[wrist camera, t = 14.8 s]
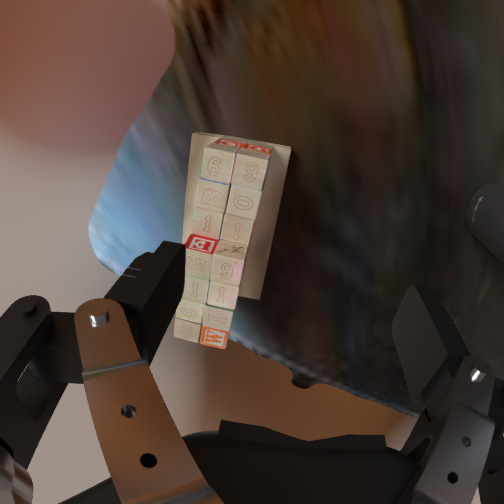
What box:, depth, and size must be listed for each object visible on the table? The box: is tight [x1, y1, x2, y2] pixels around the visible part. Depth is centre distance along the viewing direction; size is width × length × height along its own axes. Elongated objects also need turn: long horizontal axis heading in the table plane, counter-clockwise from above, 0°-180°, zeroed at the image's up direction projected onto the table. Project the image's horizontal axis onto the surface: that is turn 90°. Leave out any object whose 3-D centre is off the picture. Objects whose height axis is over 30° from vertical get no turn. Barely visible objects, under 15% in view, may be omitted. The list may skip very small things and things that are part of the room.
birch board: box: [182, 132, 291, 300], centre depth 42 cm, size 12×22×2 cm, turn 171°
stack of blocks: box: [174, 136, 273, 349], centre depth 36 cm, size 21×6×12 cm, turn 168°
